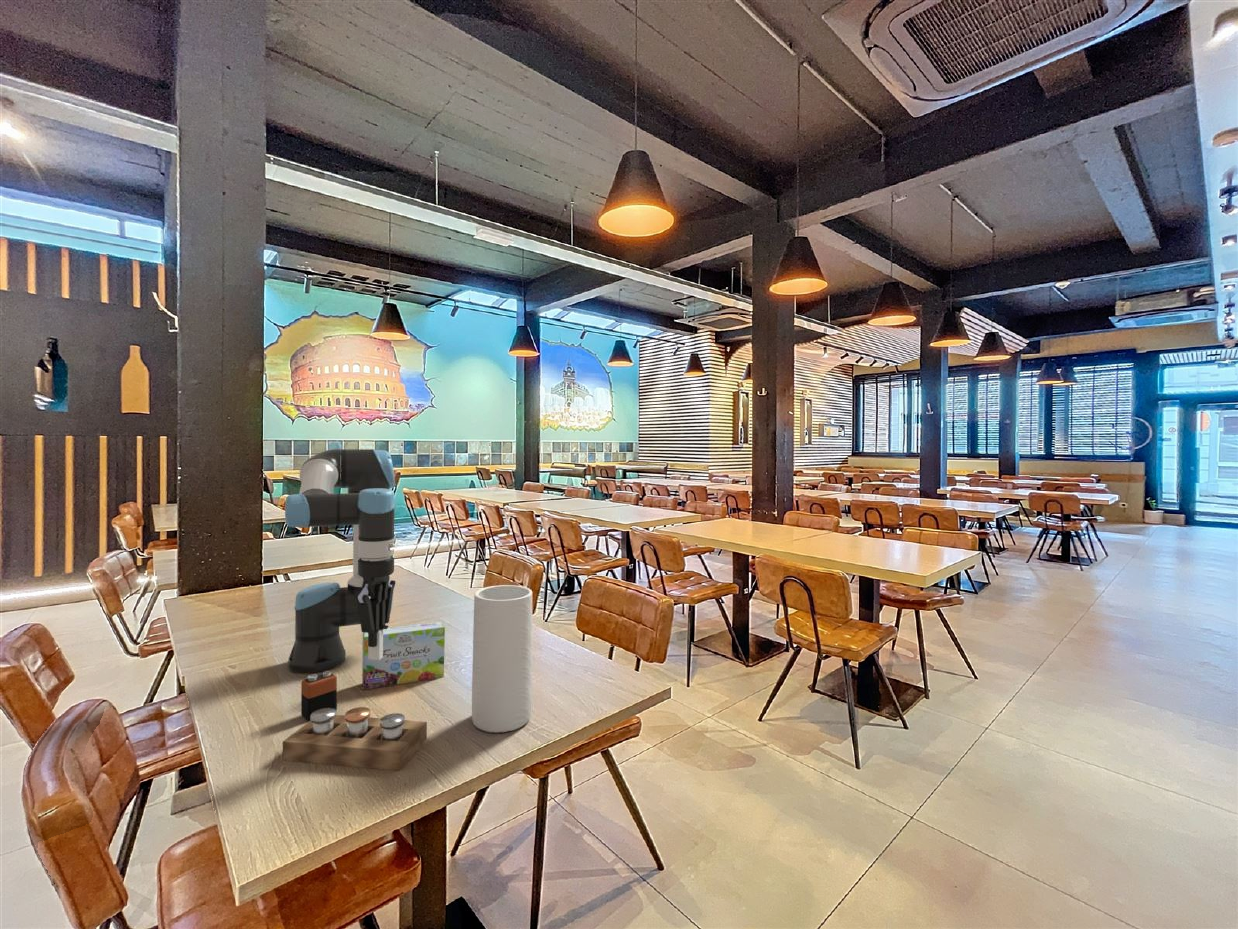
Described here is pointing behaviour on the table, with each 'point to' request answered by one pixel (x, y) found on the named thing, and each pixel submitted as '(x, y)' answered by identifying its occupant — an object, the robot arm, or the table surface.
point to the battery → (318, 693)
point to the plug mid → (357, 722)
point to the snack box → (406, 656)
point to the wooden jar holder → (355, 745)
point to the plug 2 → (392, 726)
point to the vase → (502, 658)
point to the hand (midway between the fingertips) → (375, 658)
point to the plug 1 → (323, 721)
